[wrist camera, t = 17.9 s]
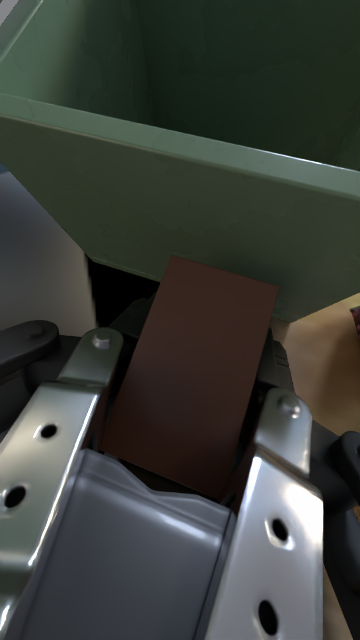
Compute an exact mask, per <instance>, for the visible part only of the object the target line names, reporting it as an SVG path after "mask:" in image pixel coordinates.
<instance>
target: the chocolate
mask: <svg viewBox="0 0 360 640" xmlns="http://www.w3.org/2000/svg"><path fill="white" fill-rule="evenodd" d="M279 288H280V287H279V286H277V285H274V284H270V283H267V282H263V281H260V280H256V279H253V278H250V277H246V276H243V275H239V274H236V273H232V272H229V271H226V270H222V269H219V268H215V267H212V266H208V265H205V264H202V263H198V262H195V261H191V260H188V259H184V258H181V257H178V256H174V255H171V257H170V260H169V262H168V265H167V267H166V270H165V272H164V275H163V278H162V280H161V283H160V285H159V288H158V291H157V293H156V296H155V298H154V301H153V304H152V306H151V309H150V311H149V314H148V317H147V319H146V322H145V324H144V327H143V330H142V332H141V335H140V337H139V340H138V343H137V345H136V348H135V350H134V353H133V356H132V358H131V361H130V363H129V366H128V369H127V371H126V374H125V376H124V379H123V382H122V384H121V387H120V389H119V392H118V395H117V397H116V400H115V402H114V405H113V408H112V410H111V413H110V415H109V418H108V421H107V423H106V426H105V432H104V437H103V442H102V447H101V450H102V451H104V452H107V453H109V454H112V455H114V456H116V457H119V458H121V459H123V460H126V461H128V462H130V463H133V464H135V465H137V466H140V467H142V468H144V469H147V470H149V471H152V472H154V473H156V474H159V475H161V476H163V477H166V478H168V479H170V480H173V481H175V482H178V483H180V484H182V485H185V486H187V487H189V488H192V489H194V490H196V491H199V492H201V493H203V494H206V495H208V496H211V497H213V498H215V499H218V497H219V495H220V493H221V491H222V489H223V487H224V485H225V483H226V480H227V478H228V477H229V474H230V471H231V467H232V463H233V459H234V456H235V452H236V448H237V445H238V441H239V437H240V433H241V430H242V426H243V422H244V418H245V415H246V411H247V407H248V404H249V400H250V396H251V392H252V389H253V385H254V381H255V377H256V374H257V370H258V366H259V363H260V359H261V355H262V351H263V348H264V344H265V340H266V337H267V333H268V329H269V325H270V322H271V318H272V314H273V310H274V307H275V303H276V299H277V296H278V292H279Z"/></svg>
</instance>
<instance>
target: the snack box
mask: <svg viewBox="0 0 360 640" xmlns="http://www.w3.org/2000/svg"><path fill="white" fill-rule="evenodd" d="M350 311H351V313H352V315H353V318H354V321H355V325H356V329H357V333H358V336H359V340H360V306H357V307H354V308H351V309H350Z"/></svg>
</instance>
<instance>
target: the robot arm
mask: <svg viewBox="0 0 360 640" xmlns="http://www.w3.org/2000/svg"><path fill="white" fill-rule="evenodd" d="M156 293H157V291H156V292H155V293H154V294H153V295H152V296H151V297H150V298H149V299H146V298H141V299H138V300H136V301H134V302H133V303H132V304H131V305H130V306H129V307H128V308H127V309H126V310H124V312H122V313H121V314H120V315H119V316H118V317H117V318H116V319H115V320H114V321H113V322H112V323H111V324H110V325H109V326H108V327H107V328H96V329H93V330H90V331H88V332H87V333H85V334H84V335H83V337H75V336H64V335H59V330H58V327H57V326H56V325H55V324H54V323H52V322H49V321H44V320H34V321H28V322H25V323H22V324H19V325H16V326H13V327H10V328H8V329H5V330H2V331H0V379H1V378H3V377H5V376H7V375H9V374H11V373H13V372H15V371H17V370H20V374H21V376H19V377H17V378H15V379H13V380H11V381H9V382H7V383H5V384H3V385H1V386H0V434H1V433H2V432H4V431H5V430H7V429H8V428H10V427H11V426H12V427H11V429H10V430H9V432H8V433H7V435H6V436H5V438H4V439H3V441H2V442H1V444H0V640H323V564H324V566H325V569H326V571H327V574H328V577H329V579H330V582H331V584H332V587H333V589H334V592H335V594H336V597H337V599H338V602H339V605H340V607H341V610H342V612H343V615H344V617H345V620H346V622H347V625H348V627H349V630H350V632H351V635H352V638H353V640H360V523H359V521H358V519H357V517H356V515H355V513H354V512H353V510H352V508H354V507H356V506H358V505H359V506H360V433H358V432H355V431H347V432H345V433H344V434H342V435H341V436H340V437H339V436H338V435H336V434H334V433H333V432H331V431H330V430H328V429H326V428H325V427H323V426H322V425H320V424H318V423H317V422H315V421H314V420H313V419H312V415H311V412H310V410H309V408H308V406H307V405H306V403H305V402H304V401H303V400H302V399H301V398H300V397H299V396H297V395H296V394H295V391H294V387H293V382H292V378H291V373H290V368H289V364H288V361H287V355H286V350H285V349H284V348H283V346H282V345H281V343H280V342H278V341H275V340H273V336H272V330H271V328H270V327H269V329H268V333H267V337H266V340H265V344H264V348H263V351H262V355H261V359H260V363H259V366H258V370H257V374H256V377H255V381H254V385H253V389H252V392H251V396H250V400H249V404H248V407H247V411H246V415H245V418H244V422H243V426H242V430H241V433H240V437H239V441H238V445H237V448H236V452H235V456H234V459H233V463H232V467H231V471H230V474H229V477H228V478H227V480H226V483H225V485H224V487H223V489H222V491H221V493H220V495H219V497H218V499H215V498H213V499H212V501H210V500H208V499H205V498H203V497H201V496H198V495H194V494H183V493H172V492H161V491H154V490H151V489H150V488H148V487H147V486H146V485H145V484H144V483H143V482H141V481H140V480H139V479H138V478H137V477H136V476H134V475H133V474H132V473H131V472H130V471H129V470H127V469H126V468H125V467H124V466H123V465H122V464H121V463H119V462H118V461H116V460H114V459H111V458H109V457H107V456H104V451H102V450H101V447H102V442H103V437H104V432H105V426H106V423H107V421H108V418H109V415H110V413H111V410H112V408H113V405H114V402H115V400H116V397H117V395H118V392H119V389H120V387H121V384H122V382H123V379H124V376H125V374H126V371H127V369H128V366H129V363H130V361H131V358H132V356H133V353H134V350H135V348H136V345H137V343H138V340H139V337H140V335H141V332H142V330H143V327H144V324H145V322H146V319H147V317H148V314H149V311H150V309H151V306H152V304H153V301H154V298H155V296H156Z"/></svg>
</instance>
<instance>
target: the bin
mask: <svg viewBox="0 0 360 640" xmlns="http://www.w3.org/2000/svg"><path fill="white" fill-rule="evenodd" d="M0 161H1V163H2V164H3V165H4V166H5V167H6V168H7V169H8V170H9V171H10V172H11V173H12V174H13V175H14V176H15V177H16V179H17V180H18V181H19V182H20V183H21V184H22V185H23V186H24V187H25V188H26V189H27V191H28V192H29V193H30V194H31V195H32V196H33V197H34V198H35V199H36V200H37V201H38V202H39V203H40V204H41V206H42V207H43V208H44V209H45V210H46V211H47V212H48V213H49V214H50V215H51V216H52V217H53V218H54V220H55V221H56V222H57V223H58V224H59V225H60V226H61V227H62V228H63V229H64V230H65V231H66V233H67V234H68V235H69V236H70V237H71V238H72V239H73V240H74V241H75V242H76V243H77V244H78V245H79V247H80V248H81V249H82V250H83V251H84V252H85V253H86V254H87V255H88V256H89V257H90V259H91V260H92V261H93V262H97V263H100V264H103V265H106V266H109V267H113V268H116V269H119V270H122V271H126V272H129V273H132V274H135V275H139V276H142V277H145V278H148V279H151V280H155V281H158V282H161V280H162V278H163V275H164V272H165V270H166V267H167V265H168V262H169V260H170V257H171V255H174V256H178V257H181V258H184V259H188V260H191V261H195V262H198V263H202V264H205V265H208V266H212V267H215V268H219V269H222V270H226V271H229V272H232V273H236V274H239V275H243V276H246V277H250V278H253V279H256V280H260V281H263V282H267V283H270V284H274V285H277V286H279V287H280V288H279V292H278V296H277V299H276V303H275V307H274V310H273V314H272V317H274V318H277V319H281V320H284V321H287V322H290V323H292V322H294V321H297V320H299V319H301V318H303V317H305V316H308V315H310V314H312V313H314V312H317V311H319V310H321V309H323V308H325V307H328V306H330V305H332V304H334V303H337V302H339V301H341V300H343V299H346V298H348V297H350V296H352V295H355V294H357V293H359V292H360V0H19V1H18V3H17V4H16V5H15V7H14V8H13V10H12V11H11V12H10V14H9V15H8V16H7V18H6V19H5V21H4V22H3V23H2V25H1V26H0Z"/></svg>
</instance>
